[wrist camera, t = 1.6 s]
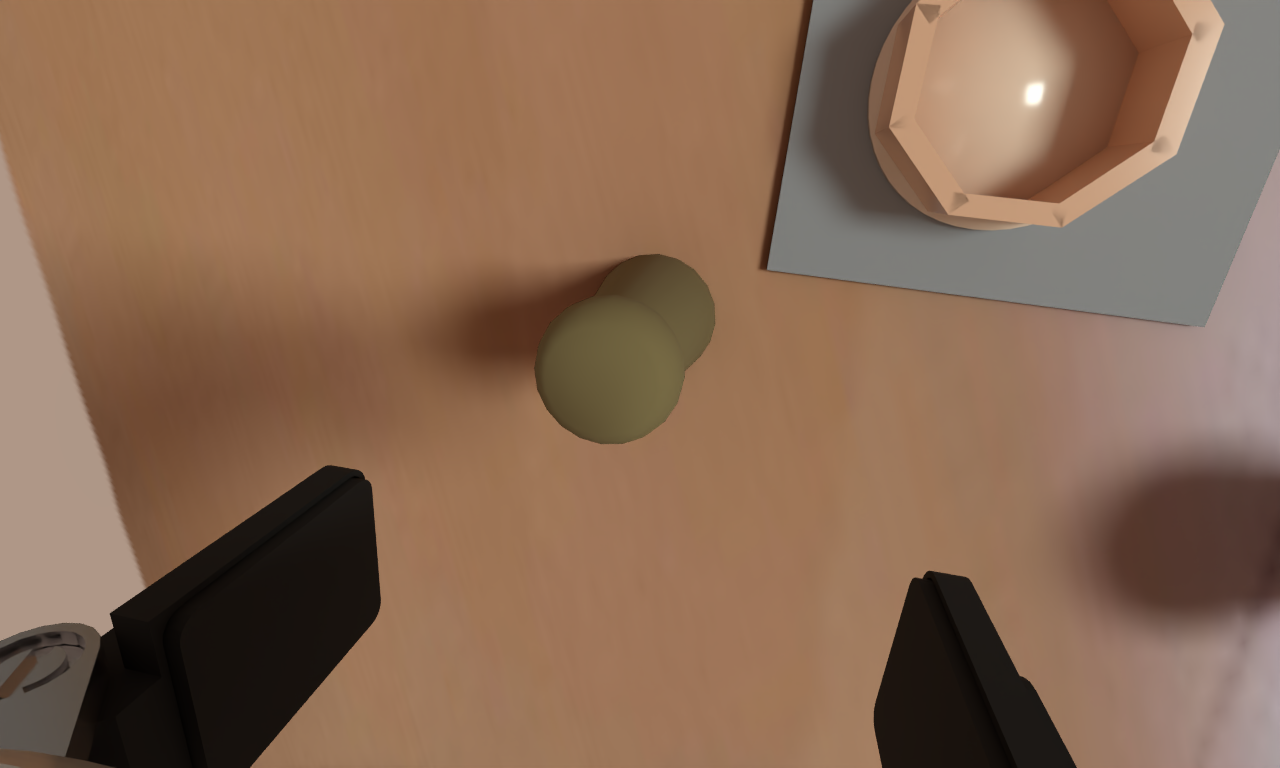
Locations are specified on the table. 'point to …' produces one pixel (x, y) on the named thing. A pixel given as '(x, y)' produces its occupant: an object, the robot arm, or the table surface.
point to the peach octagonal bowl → (1033, 103)
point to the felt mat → (1035, 254)
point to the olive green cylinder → (625, 350)
